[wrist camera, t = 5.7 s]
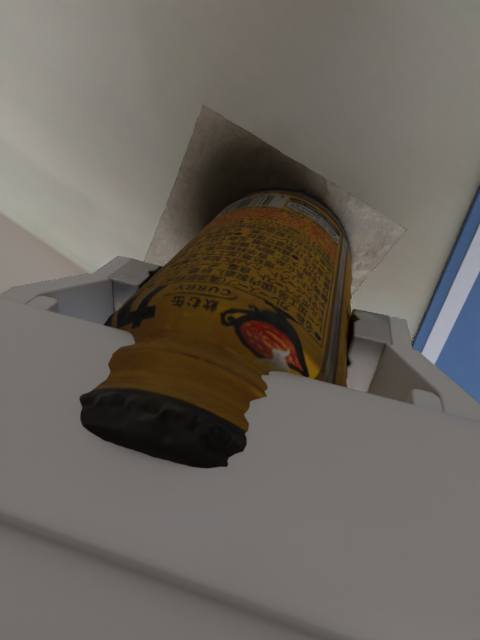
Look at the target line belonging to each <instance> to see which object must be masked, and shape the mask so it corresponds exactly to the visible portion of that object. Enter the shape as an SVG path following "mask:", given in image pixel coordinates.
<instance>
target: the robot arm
mask: <svg viewBox="0 0 480 640" xmlns="http://www.w3.org/2000/svg"><path fill="white" fill-rule="evenodd" d="M162 267H163V266H160V265H156V264H152V263H148V262H143V261H139V260H135V259H133V258H127V257H122V256H117V257H116V258H114V259H113V260H111V261H110V262H109V263H107V264H106V265H104V266H103V267H101V268H100V269H98V270H97V271H96V272H94V273H93V274H89V273H86V274H80V275H75V276H70V277H64V278H59V279H53V280H48V281H42V282H37V283H32V284H26V285H21V286H15V287H12V288H10V289H8V290H7V291H5V292H3V293H1V294H0V640H480V403H478V402H477V401H476V400H475V399H474V398H473V397H471V396H470V395H469V394H468V393H467V392H466V391H464V390H463V389H462V388H461V387H460V386H459V385H457V384H456V383H455V382H454V381H453V380H452V379H450V378H449V377H448V376H447V375H446V374H445V373H443V372H442V371H441V370H440V369H439V368H437V367H436V366H435V365H434V364H433V363H432V362H430V361H429V360H428V359H427V358H426V357H425V356H423V355H422V354H421V353H420V352H419V351H417V350H413V349H412V344H411V339H410V334H409V329H408V324H407V321H406V320H405V319H401V318H395V317H390V316H387V315H382V314H377V313H372V312H367V311H362V310H357V309H353V311H352V313H351V316H350V321H349V328H348V333H349V339H348V342H347V344H348V347H347V351H346V355H347V371H348V377H347V380H346V383H347V387H343V386H339V385H335V384H331V383H327V382H323V381H319V380H315V379H311V378H308V377H304V376H300V375H296V374H292V373H288V372H278V371H271V372H269V375H262V379H263V380H264V381H265V383H266V384H267V387H268V389H267V390H266V391H264V392H265V393H266V395H267V397H263V398H260V399H256V400H252V401H250V406H249V409H248V411H247V412H246V413H245V414H244V416H245V418H246V419H247V421H248V423H249V428H248V431H247V432H246V433H245V435H246V438H247V445H246V447H245V449H244V451H243V452H240V453H237V454H234V455H233V456H231V457H229V458H228V461H227V462H228V466H227V467H215V468H209V469H207V468H196V467H189V466H187V465H182V464H177V463H173V462H171V461H169V460H163V459H160V458H154V457H151V456H149V455H146V454H143V453H141V452H137V451H134V450H132V449H127V448H124V447H121V446H118V445H115V444H113V443H111V442H107V441H103V440H102V439H101V438H99V437H97V436H96V435H94V434H92V433H91V432H89V431H88V430H87V429H86V428H84V427H83V426H82V423H81V420H80V413H81V410H82V405H81V403H80V400H79V399H80V396H81V395H82V394H84V393H88V392H90V391H92V390H93V389H94V388H96V387H97V386H98V385H99V384H101V383H102V382H104V381H105V380H106V379H107V377H108V376H109V374H110V369H109V366H108V363H109V361H110V359H111V357H112V355H113V353H114V352H115V351H117V350H118V349H119V348H120V347H123V346H129V345H134V344H135V341H134V337H133V336H132V334H131V333H129V332H127V331H124V330H120V329H117V328H113V327H109V326H105V325H104V323H105V322H106V321H107V319H108V318H109V316H110V315H112V314H113V313H114V312H116V311H117V310H118V309H119V308H120V307H121V306H122V305H123V304H124V303H125V302H126V301H127V300H128V299H129V298H130V297H131V296H132V295H133V294H135V293H136V292H137V291H138V290H139V289H140V288H141V287H142V286H143V285H144V284H145V283H146V282H148V281H149V280H150V279H151V278H152V277H153V276H154V275H155V274H156V273H157V272H158V271H159V270H160V269H161V268H162Z"/></svg>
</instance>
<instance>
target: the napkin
mask: <svg viewBox="0 0 480 640" xmlns="http://www.w3.org/2000/svg"><path fill="white" fill-rule="evenodd" d="M412 349H413V350H417V351H419V352H420V353H421V354H422V355H423V356H425V357H426V358H427V359H428V360H429V361H430V362H432V363H433V364H434V365H435V366H436V367H437V368H439V369H440V370H441V371H442V372H443V373H445V374H446V375H447V376H448V377H449V378H450V379H452V380H453V381H454V382H455V383H456V384H457V385H459V386H460V387H461V388H462V389H463V390H464V391H466V392H467V393H468V394H469V395H470V396H471V397H473V398H474V399H475V400H476V401H477V402H478V403H480V188H479V190H478V193H477V195H476V197H475V200H474V202H473V204H472V207H471V209H470V211H469V214H468V216H467V218H466V221H465V223H464V225H463V228H462V230H461V232H460V235H459V237H458V239H457V241H456V244H455V246H454V248H453V251H452V253H451V255H450V258H449V260H448V262H447V265H446V267H445V269H444V272H443V274H442V276H441V279H440V281H439V283H438V286H437V288H436V290H435V293H434V295H433V297H432V300H431V302H430V304H429V307H428V309H427V311H426V314H425V316H424V318H423V321H422V323H421V325H420V327H419V330H418V332H417V334H416V337H415V339H414V341H413V344H412Z"/></svg>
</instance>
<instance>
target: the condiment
mask: <svg viewBox="0 0 480 640" xmlns="http://www.w3.org/2000/svg"><path fill="white" fill-rule="evenodd" d="M406 230H407V229H406V228H404V227H403V226H401V225H399V224H398V223H396V222H394V221H393V220H391V219H390V218H388V217H387V216H385V215H383V214H382V213H380V212H379V211H377V210H375V209H374V208H372V207H371V206H369V205H367V204H366V203H364V202H363V201H361V200H359V199H357V198H355V197H354V196H352V195H351V194H349V193H348V192H346V191H345V190H343V189H342V188H340V187H338V186H337V185H335V184H334V183H332V182H330V181H328V180H326V179H325V178H324V177H322V176H320V175H319V174H317V173H315V172H313V171H312V170H310V169H308V168H307V167H305V166H304V165H302V164H300V163H298V162H297V161H295V160H293V159H291V158H289V157H288V156H286V155H284V154H283V153H281V152H280V151H279V150H277V149H276V148H274V147H272V146H271V145H269V144H267V143H266V142H264V141H262V140H261V139H259V138H258V137H256V136H255V135H253V134H252V133H250V132H248V131H246V130H245V129H243V128H241V127H239V126H238V125H236V124H234V123H232V122H230V121H229V120H227V119H226V118H224V117H222V116H221V115H219V114H218V113H216V112H214V111H213V110H211V109H210V108H208V107H206V106H205V105H203V106H202V108H201V111H200V114H199V117H198V119H197V122H196V125H195V129H194V132H193V135H192V137H191V140H190V142H189V145H188V148H187V151H186V153H185V156H184V159H183V161H182V164H181V167H180V169H179V172H178V175H177V178H176V181H175V183H174V186H173V188H172V191H171V193H170V196H169V198H168V201H167V204H166V208H165V210H164V212H163V214H162V216H161V219H160V221H159V224H158V226H157V229H156V232H155V235H154V237H153V240H152V243H151V245H150V247H149V249H148V252H147V255H146V257H145V260H144V262H148V263H152V264H156V265H160V266H163V267H162V268H161V269H160V270H159V271H158V272H157V273H156V274H155V275H154V276H153V277H152V278H151V279H150V280H149V281H148V282H146V283H145V284H144V285H143V286H142V287H141V288H140V289H139V290H138V291H137V292H136V293H135V294H133V295H132V296H131V297H130V298H129V299H128V300H127V301H126V302H125V303H124V304H123V305H122V306H121V307H120V308H119V309H118V310H117V311H116V312H114V313H113V314H112V315H110V316H109V318H108V319H107V321H106V322H105V323H104V325H105V326H109V327H113V328H117V329H120V330H124V331H127V332H129V333H131V334H132V336H133V337H134V341H135V344H134V345H129V346H123V347H120V348H119V349H118V350H117V351H115V352H114V353H113V355H112V357H111V359H110V361H109V363H108V366H109V369H110V374H109V376H108V377H107V379H106V380H105V381H104V382H102V383H101V384H99V385H98V386H97V387H96V388H94V389H93V390H92V391H90V392H88V393H84V394H82V395H81V396H80V399H79V400H80V403H81V405H82V410H81V413H80V420H81V423H82V426H83V427H84V428H86V429H87V430H88V431H89V432H91V433H92V434H94V435H96V436H97V437H99V438H101V439H102V440H103V441H107V442H111V443H113V444H115V445H118V446H121V447H124V448H127V449H132V450H134V451H137V452H141V453H143V454H146V455H149V456H151V457H154V458H160V459H163V460H169V461H171V462H173V463H177V464H182V465H187V466H189V467H196V468H207V469H209V468H215V467H227V466H228V462H227V461H228V458H229V457H231V456H233V455H234V454H237V453H240V452H243V451H244V449H245V447H246V445H247V438H246V435H245V433H246V432H247V431H248V428H249V423H248V421H247V419H246V418H245V416H244V414H245V413H246V412H247V411H248V409H249V406H250V401H252V400H256V399H260V398H263V397H267V395H266V393H265V392H264V391H266V390H267V389H268V387H267V384H266V383H265V381H264V380H263V379H262V375H269V372H271V371H278V372H288V373H292V374H296V375H300V376H304V377H308V378H311V379H315V380H319V381H323V382H327V383H331V384H335V385H339V386H343V387H347V383H346V380H347V377H348V371H347V355H346V351H347V347H348V344H347V342H348V339H349V333H348V328H349V321H350V315H351V306H350V300H351V298H352V295H353V293H354V292H355V291H356V290H357V289H358V287H359V286H360V285H361V284H362V282H363V281H364V280H365V279H366V278H367V276H368V275H369V274H370V273H371V272H372V271H373V270H374V269H375V267H376V266H377V265H378V264H379V263H380V262H381V261H382V259H383V258H384V257H385V255H386V254H387V253H388V252H389V251H390V250H391V248H392V247H393V246H394V245H395V244H396V242H397V241H398V240H399V239H400V237H401V236H402V235H403V234H404V232H405V231H406Z"/></svg>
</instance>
